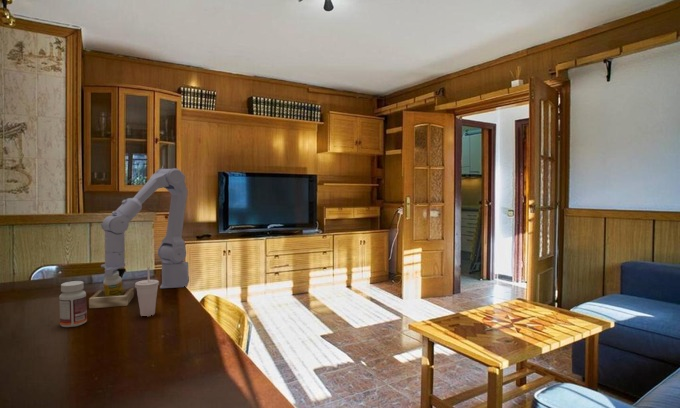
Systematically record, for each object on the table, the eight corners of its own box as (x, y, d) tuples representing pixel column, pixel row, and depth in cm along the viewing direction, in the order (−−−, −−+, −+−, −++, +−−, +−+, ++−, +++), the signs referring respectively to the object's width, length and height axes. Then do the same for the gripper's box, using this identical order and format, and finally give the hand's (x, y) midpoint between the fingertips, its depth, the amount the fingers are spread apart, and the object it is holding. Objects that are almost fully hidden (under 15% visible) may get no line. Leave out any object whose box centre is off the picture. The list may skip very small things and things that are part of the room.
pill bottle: (88, 318, 112) (87, 279, 111) (85, 325, 106) (84, 284, 106) (62, 321, 109) (61, 281, 109) (57, 329, 104) (56, 287, 103)
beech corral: (134, 296, 134) (133, 287, 134) (126, 305, 124) (126, 296, 124) (99, 298, 131) (99, 289, 131) (89, 308, 121) (89, 298, 121)
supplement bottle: (120, 292, 134) (117, 267, 131) (126, 298, 130) (124, 273, 127) (102, 298, 130) (99, 272, 127) (109, 304, 126) (106, 278, 123)
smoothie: (164, 312, 117) (163, 266, 117) (145, 319, 111) (144, 270, 111) (149, 309, 120) (148, 264, 119) (130, 316, 114) (129, 268, 113)
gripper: (107, 248, 137) (108, 286, 138) (94, 255, 123) (94, 298, 124) (130, 247, 139) (130, 285, 140) (119, 255, 125) (119, 297, 126)
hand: (114, 291), depth 132 cm, fingers closed, pressing on supplement bottle
